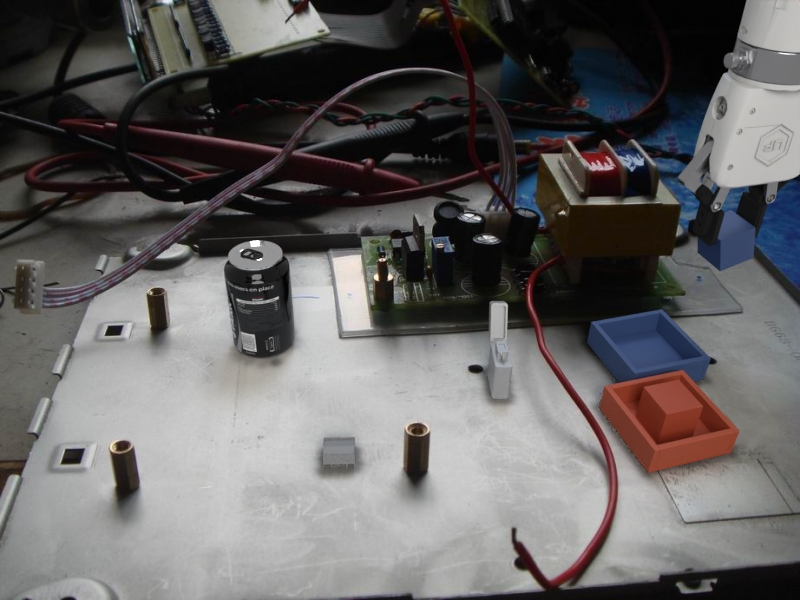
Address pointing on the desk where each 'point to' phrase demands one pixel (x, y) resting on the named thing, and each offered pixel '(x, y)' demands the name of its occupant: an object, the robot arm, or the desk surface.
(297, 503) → the desk surface
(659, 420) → the terracotta block
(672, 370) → the slate bin
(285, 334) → the beverage can
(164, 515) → the desk surface
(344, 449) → the grey pin connector
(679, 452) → the terracotta bin
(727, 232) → the slate block
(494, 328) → the lighter
